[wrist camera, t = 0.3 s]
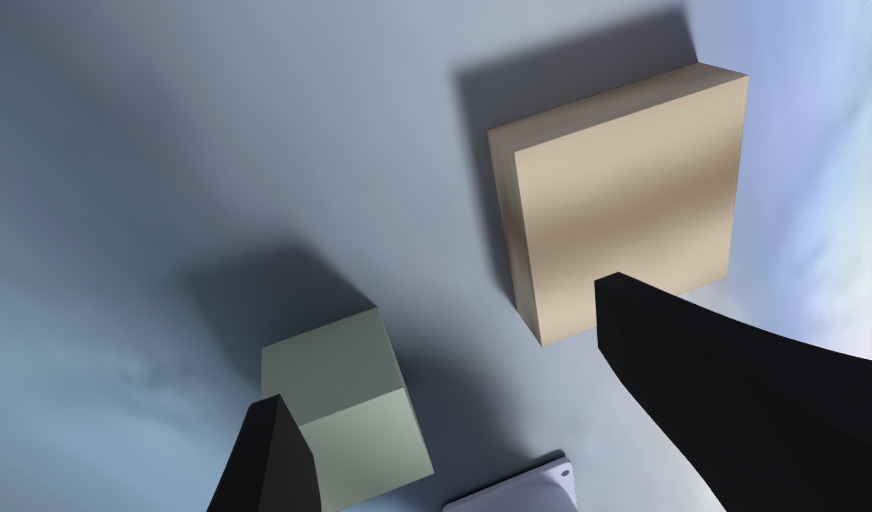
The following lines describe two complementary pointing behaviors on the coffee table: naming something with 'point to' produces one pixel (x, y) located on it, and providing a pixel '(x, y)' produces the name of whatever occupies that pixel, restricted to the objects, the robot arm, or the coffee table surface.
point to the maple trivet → (620, 192)
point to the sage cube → (349, 408)
